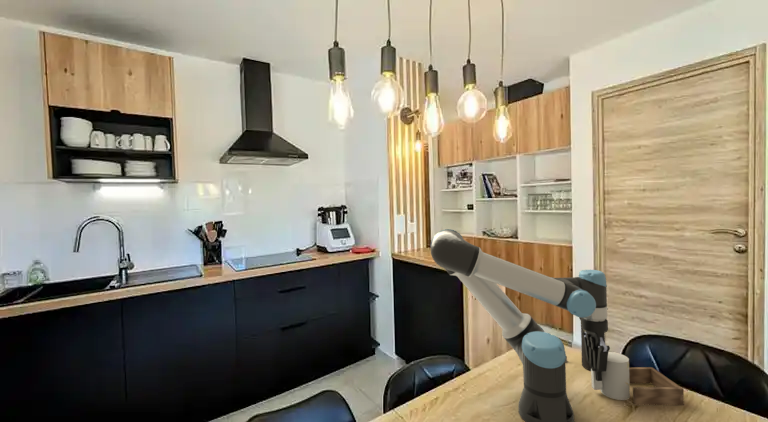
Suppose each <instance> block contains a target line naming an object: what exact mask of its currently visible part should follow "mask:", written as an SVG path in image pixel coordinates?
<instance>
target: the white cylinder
mask: <svg viewBox="0 0 768 422" xmlns="http://www.w3.org/2000/svg"><path fill="white" fill-rule="evenodd" d="M629 367H630V358H629V357H628V356H626V355H624V354H622V353H618V352H614V351H609V352H608V359H607V369H606V372H602V385H603V390H600V393H601V394H603V395H604V396H605V397H608V398H610V399H613V400H618V401H626V400H629V399H630V397H631V389H630V388H631V387H630V386H631V385H630V384H631V383H630V380H629Z"/></svg>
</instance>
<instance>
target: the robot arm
mask: <svg viewBox="0 0 768 422" xmlns="http://www.w3.org/2000/svg"><path fill="white" fill-rule="evenodd" d="M430 256H431V258H432V260H433V261H434V262H435V264H436V265H437V266H439V267H441V268H442V269H444V270H445V271H446V272H447V274H448V275H449V276H455V277H457V278H458V279H459V281H460V282H461V283H462V284H463V285H464V286H465V287H466V289H467V290H468V292H470V293H471V294H472V296H473V297H474V298H475V300H477V301H478V302H479V304H480V305H481V306H482V307H483V308H484V310H485V311H486V312H487V313H488V314H489V315H490V317H491V318H492V319H493V320H494V321H495V322H496V323H497V325H498V326H499V327H500V328H501V329H502V331H501V336H502V337H503V339H505V341H506V342H507V343H508V344H509V346H511V348H512V349H513V350H514V352H515V353H516V354H517V356H518V358H519V360H520V362H521V365H522V371H523V372H522V373H523V374H522V375H523V389H522V391H521V394H520V397H519V401H518V413H519V416H520V418H521V419H522V420H523V421H525V422H575V414H574V411H573V410H574V409H573V408H572V405H571V402H570V399H569V396H568V394H567V369H566V366H567V365H566V362H565V359H566V356H567V354H566V350H565V345H564V343H563V341H562V339H560V338H559V337H558V336H556V335H555V334H551V333H550V332H549V333H548V332H546V331H545V330H544V329H543V328H542V327H541V325H540V324H538V323H537V322H536V321H535V319H534V318H533V317H532V316H531V315H530V314H529V313H525V312H524V313H522V311H521V310H520V309H519V308H518V307H517V306H516V304H515V303H514V302H513V301H512V300H511V299H510V298H509V296H508V295H507V294H506V293H505V292H504V291H503V289H502V288H500V287H501V286H502V287H505V288H507V289H510V290H513V291H515V292H518V293H521V294H523V295H526V296H529V297H532V298H534V299H536V300H540V301H542V302H544V303H546V304H550V305H552V306H555V307H557V308H560V309H562V310H565V311H567V312H569V313H570V314H571V315H573V316H574V317H575V316H576V317H577V318H579V317H581V320H580V326H581V325H582V328H583V329H584V330H585V331H586V332H582V335H583V339H584V345H585V352H586V358H587V362H588V363H590V367H591V371H590V376H591V377H590V378H591V379H590V380H591V388H592V389H593V390H595V391H596V390H598V391H599V390H603V385H602V372H606V369H607V359H608V352H610V349H611V348H610V345H606V337H605V338H604V333H606V332H608V331H609V322H608V321H609V320H608V310H609V307H608V303H607V302H608V301H607V300H608V298H607V294H608V293H607V291H608V290H607V286H608V284H607V278H606V274H605V273H604V272H603V271H601V270H598V269H582V270H580V271H579V273H578V276H576V277H550V276H549V275H545V274H543V273H540V272H537V271H535V270H531V269H529V268H526V267H523V266H521V265H519V264H516V263H513V262H510V261H508V260H504V259H502V258H500V257H498V256H494V255H491V254H488V253H486V252H484V251H483V250H482V248H481V247H479V246H476V245H475V244H472V243H470V242H469V241H467V240H465V239H464V238H463V235H462V234H461V233H460V232H458V231H457V230H454V229H448V228H446V229H443V230H439V232H437V233H435V234H434V235H433V237H432V238H431V242H430ZM499 285H500V286H499ZM604 341H605V343H604Z"/></svg>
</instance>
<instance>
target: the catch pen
mask: <svg viewBox="0 0 768 422" xmlns="http://www.w3.org/2000/svg"><path fill="white" fill-rule="evenodd" d="M629 380H630V384H651V385H653V386H648V387H647V386H645V387H643V386H640V387H639V386H636V387H635V386H633V387H632V393H633V394H632V397H633V398H632V401H633V404H634V405H635V406H684V405H685V400H684V399H685V397H684V396H685V395H684V391H685V389H684V388H683V387H682V386H680V385H679V384H677V383H676V382H674V381H673V380H671V379H670V378H668V377H667V376H665V375H664V374H663V373H662V372H660V371H658V370H657V369H655V368H654V367H651V366H648V367H647V366H645V367H644V366H641V367H638V366H637V367H630V366H629Z"/></svg>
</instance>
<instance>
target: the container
mask: <svg viewBox="0 0 768 422" xmlns="http://www.w3.org/2000/svg"><path fill="white" fill-rule="evenodd" d="M578 318H579V321H581V317H578ZM582 332H586V331H585V330H584V329H583V328H582V325H581V324H580V338H581V339H580V341H581V345H580V346H581V366H582V367H583V368H584V369H585V370H587V371H590V372H591V367H590V363H588V362H587V358H586V352H585V345H584V339H583V335H582ZM605 333H606V332H605ZM605 333H604V338H605V339H606V335H605ZM604 343H605V344H606V340H605V341H604Z"/></svg>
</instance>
